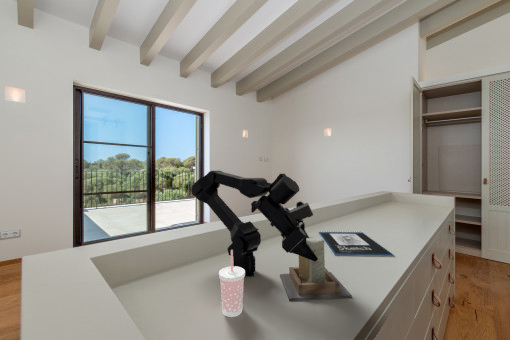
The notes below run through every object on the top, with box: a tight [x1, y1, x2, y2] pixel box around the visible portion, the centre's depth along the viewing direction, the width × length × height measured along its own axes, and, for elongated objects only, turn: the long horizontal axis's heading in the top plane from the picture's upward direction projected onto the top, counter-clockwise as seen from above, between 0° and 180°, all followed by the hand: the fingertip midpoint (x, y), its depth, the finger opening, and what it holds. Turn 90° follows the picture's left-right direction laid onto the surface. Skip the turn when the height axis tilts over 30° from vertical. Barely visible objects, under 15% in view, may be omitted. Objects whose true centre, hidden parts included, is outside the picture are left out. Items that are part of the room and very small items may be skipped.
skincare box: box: [298, 236, 326, 283], centre depth 62 cm, size 6×4×12 cm
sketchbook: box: [318, 230, 395, 258], centre depth 98 cm, size 22×30×2 cm
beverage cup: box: [218, 250, 245, 318], centre depth 52 cm, size 6×6×14 cm
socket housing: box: [279, 266, 353, 302], centre depth 62 cm, size 16×13×3 cm
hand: (315, 253), depth 62 cm, fingers open, 9 cm apart
